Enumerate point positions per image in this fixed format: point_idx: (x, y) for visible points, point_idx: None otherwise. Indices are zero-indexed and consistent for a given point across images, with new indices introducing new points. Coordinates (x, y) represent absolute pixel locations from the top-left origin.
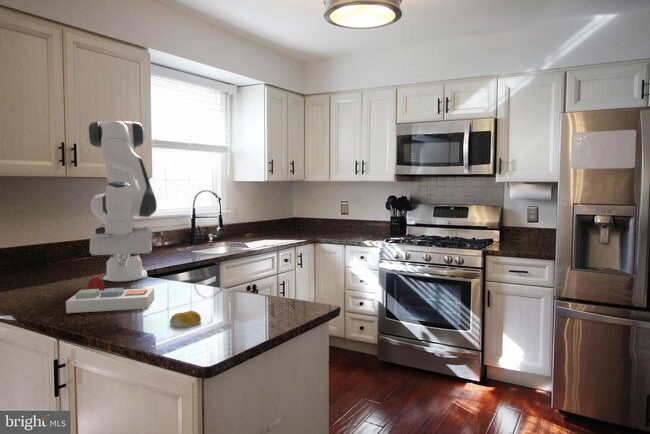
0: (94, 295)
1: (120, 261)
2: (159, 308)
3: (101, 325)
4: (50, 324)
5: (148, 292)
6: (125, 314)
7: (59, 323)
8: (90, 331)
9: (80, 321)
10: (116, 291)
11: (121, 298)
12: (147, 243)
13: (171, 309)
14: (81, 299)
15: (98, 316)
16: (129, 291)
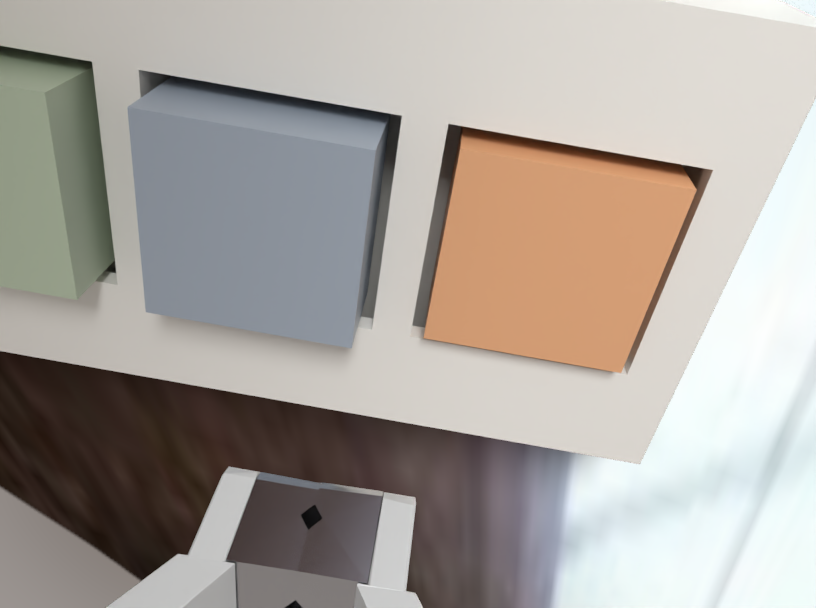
0: (91, 282)
1: (255, 593)
2: (713, 420)
3: None
4: (9, 484)
5: (693, 287)
6: (441, 467)
7: (55, 485)
8: None
9: (171, 495)
10: (321, 340)
11: (394, 420)
12: None
13: (794, 478)
14: (4, 316)
15: (256, 442)
16: (466, 226)
